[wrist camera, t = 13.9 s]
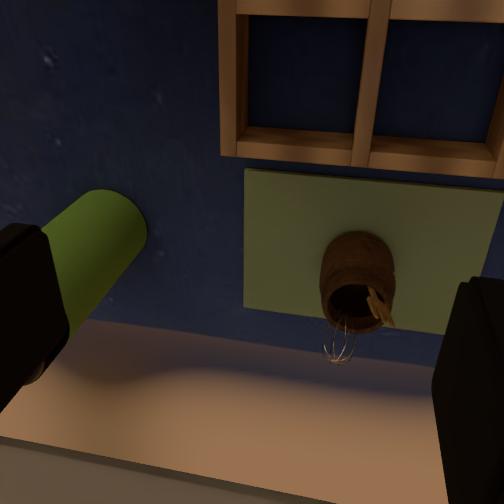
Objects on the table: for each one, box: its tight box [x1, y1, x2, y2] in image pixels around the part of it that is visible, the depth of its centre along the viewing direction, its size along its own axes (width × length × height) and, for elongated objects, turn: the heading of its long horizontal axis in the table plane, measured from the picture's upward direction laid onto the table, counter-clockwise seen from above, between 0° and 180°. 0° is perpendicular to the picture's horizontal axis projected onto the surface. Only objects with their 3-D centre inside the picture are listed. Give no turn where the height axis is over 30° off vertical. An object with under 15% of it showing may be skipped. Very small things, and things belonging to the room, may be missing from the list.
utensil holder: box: [319, 231, 396, 365], centre depth 36 cm, size 6×6×12 cm
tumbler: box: [23, 189, 147, 386], centre depth 38 cm, size 8×8×17 cm
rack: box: [218, 0, 504, 179], centre depth 33 cm, size 20×11×4 cm, turn 89°
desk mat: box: [243, 168, 504, 335], centre depth 41 cm, size 20×14×1 cm
